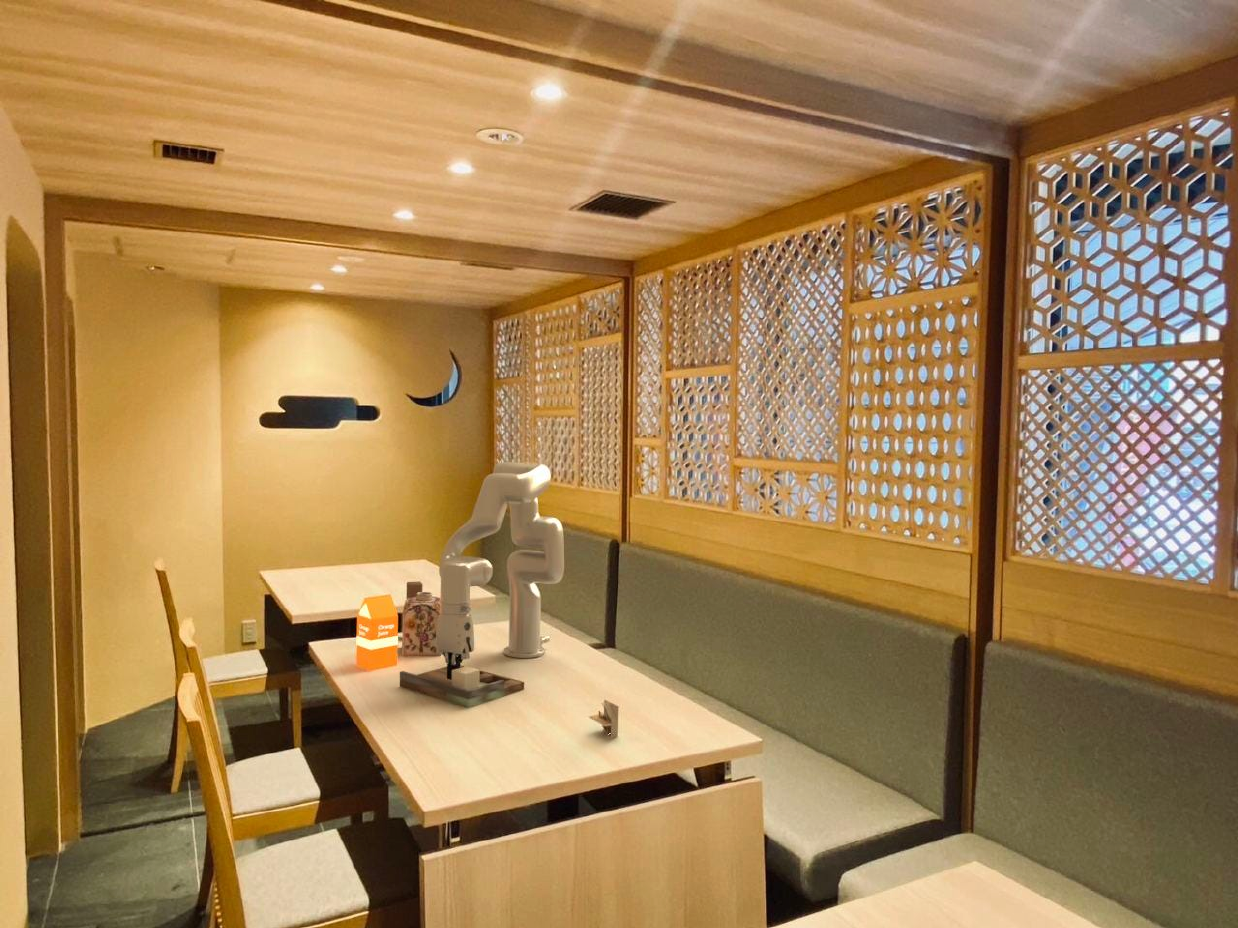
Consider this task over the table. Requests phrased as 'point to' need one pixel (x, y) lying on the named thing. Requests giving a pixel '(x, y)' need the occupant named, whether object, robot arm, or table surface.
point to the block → (466, 677)
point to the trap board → (443, 689)
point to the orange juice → (377, 633)
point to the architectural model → (608, 718)
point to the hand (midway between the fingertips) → (453, 678)
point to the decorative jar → (420, 625)
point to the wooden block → (413, 589)
